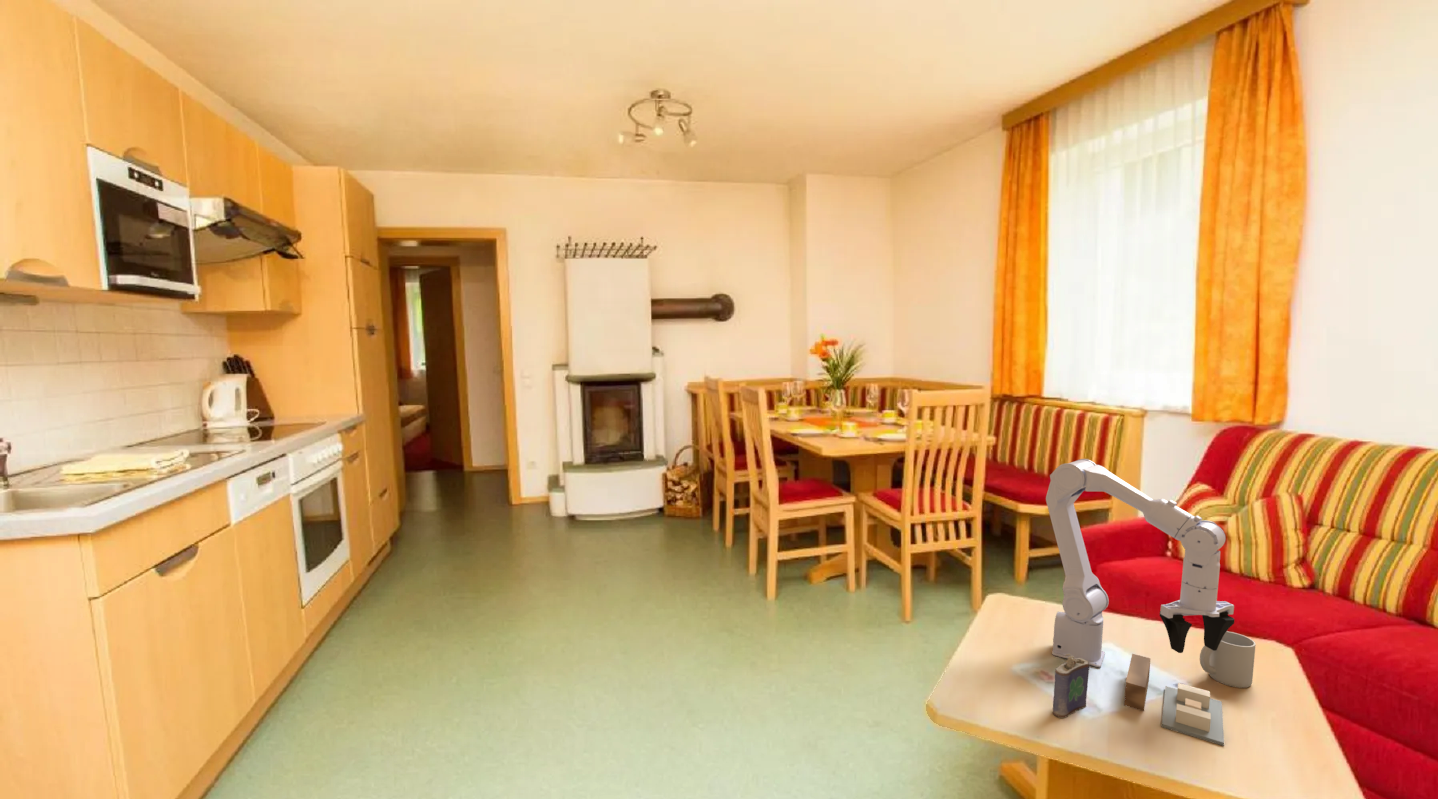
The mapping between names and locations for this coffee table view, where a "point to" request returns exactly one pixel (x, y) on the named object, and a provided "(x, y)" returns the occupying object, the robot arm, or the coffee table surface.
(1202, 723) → the stand
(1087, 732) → the coffee table surface
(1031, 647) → the coffee table surface
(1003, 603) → the coffee table surface
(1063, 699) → the flask
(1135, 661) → the case
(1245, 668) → the cup
